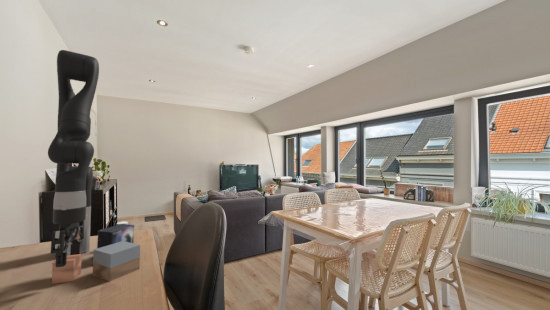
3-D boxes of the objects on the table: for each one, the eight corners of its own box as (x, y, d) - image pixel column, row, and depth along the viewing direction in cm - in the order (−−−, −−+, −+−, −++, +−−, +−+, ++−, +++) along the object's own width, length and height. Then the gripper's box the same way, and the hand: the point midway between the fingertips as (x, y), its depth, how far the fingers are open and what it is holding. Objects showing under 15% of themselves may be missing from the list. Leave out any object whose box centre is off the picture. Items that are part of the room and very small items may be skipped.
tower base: (92, 276, 72) (92, 262, 72) (122, 264, 80) (122, 252, 81) (110, 282, 68) (110, 268, 69) (139, 269, 77) (139, 257, 77)
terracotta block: (61, 275, 72) (61, 256, 72) (80, 273, 73) (81, 254, 74) (51, 283, 67) (52, 262, 67) (73, 281, 69) (73, 260, 69)
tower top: (93, 262, 73) (93, 249, 73) (122, 252, 81) (122, 240, 81) (110, 268, 69) (110, 254, 69) (139, 257, 77) (140, 244, 77)
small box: (110, 262, 82) (111, 231, 82) (95, 260, 83) (96, 230, 84) (134, 251, 92) (135, 224, 93) (120, 249, 94) (121, 223, 94)
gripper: (66, 203, 76) (64, 254, 76) (40, 211, 63) (37, 272, 62) (94, 202, 79) (92, 251, 78) (74, 209, 66) (72, 268, 65)
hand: (68, 260), depth 70 cm, fingers open, 8 cm apart
